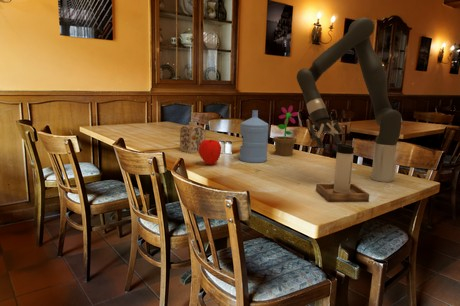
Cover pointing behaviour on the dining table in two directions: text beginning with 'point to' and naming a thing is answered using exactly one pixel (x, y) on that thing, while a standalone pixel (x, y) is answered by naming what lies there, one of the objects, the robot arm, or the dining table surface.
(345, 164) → the travel mug
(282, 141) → the flowerpot
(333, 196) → the tray
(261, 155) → the water jug
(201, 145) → the apple
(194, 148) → the decorative jar
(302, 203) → the dining table surface
